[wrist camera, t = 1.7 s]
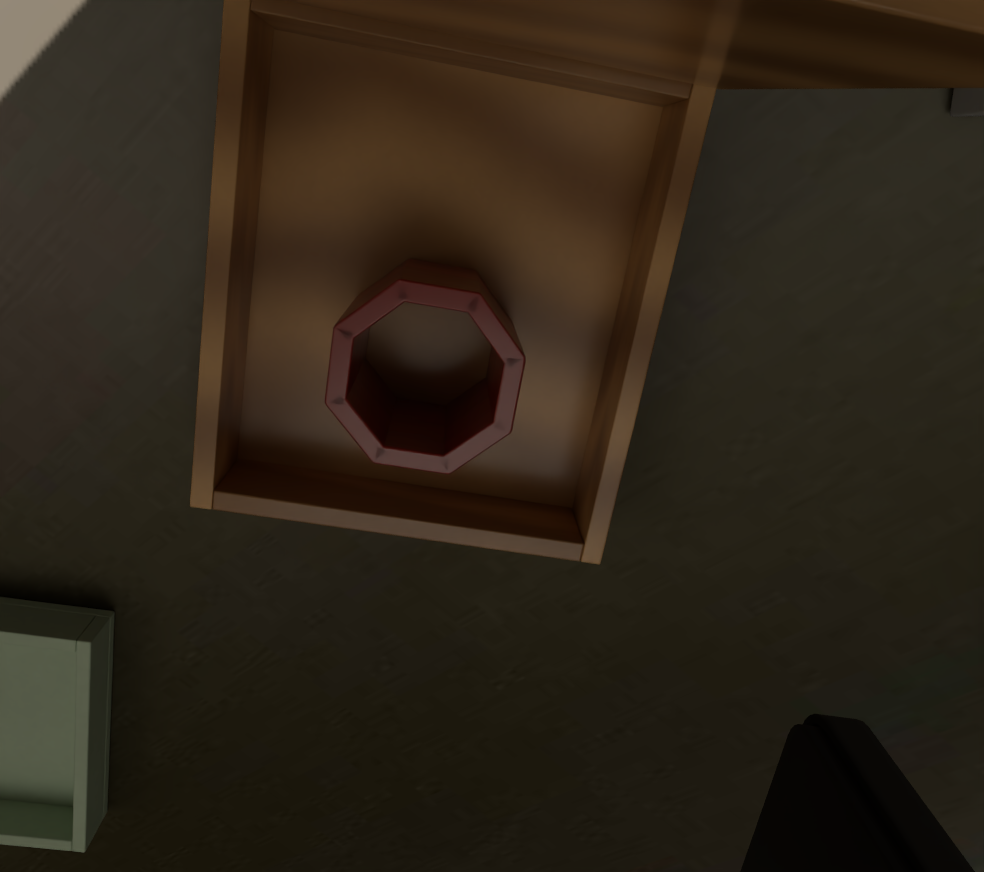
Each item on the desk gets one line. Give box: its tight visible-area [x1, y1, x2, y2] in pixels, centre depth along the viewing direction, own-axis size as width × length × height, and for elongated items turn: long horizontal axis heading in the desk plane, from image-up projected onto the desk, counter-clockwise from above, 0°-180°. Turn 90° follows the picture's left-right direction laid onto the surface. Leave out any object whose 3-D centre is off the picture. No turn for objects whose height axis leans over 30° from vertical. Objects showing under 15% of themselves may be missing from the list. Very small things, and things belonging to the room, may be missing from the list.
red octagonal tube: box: [325, 259, 526, 474], centre depth 29 cm, size 6×6×6 cm
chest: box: [190, 0, 716, 564], centre depth 30 cm, size 18×16×4 cm
